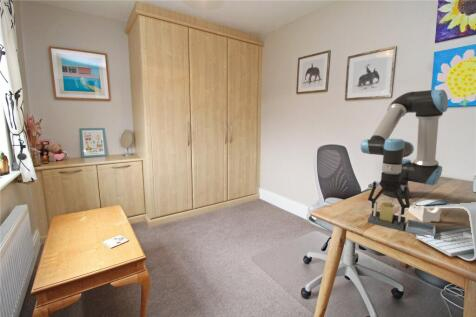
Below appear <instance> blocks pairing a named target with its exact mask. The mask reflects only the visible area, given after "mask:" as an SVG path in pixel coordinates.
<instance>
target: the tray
mask: <svg viewBox="0 0 476 317" xmlns="http://www.w3.org/2000/svg"><path fill="white" fill-rule="evenodd" d="M432 229H433V233H431V232H427V231H428V230H432ZM405 232H406V233H410V234H412V235H417V234H425V235H431V236H435V237H436V225H435V224H430V223H428V222H422V221H418V220H412V219H407V221H406V224H405Z"/></svg>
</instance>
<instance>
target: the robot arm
mask: <svg viewBox="0 0 476 317" xmlns="http://www.w3.org/2000/svg"><path fill="white" fill-rule="evenodd" d="M448 97H449V96H448V94H447V91H445V90H443V89H430V90H429V89H428V90H418V91H409V92H406V93H403V94H401V95H399V96H398V97H397V98H395V99H394V100H393V101H391V103H390V104H389V105H388V107H387V109H386V111H387V112H386V114H385V115H384V116H383V118H382V120H381V121H380V123H379V125H378V126H377V127H376V129H375V131H374V132H373V134H372V136H371V137H370V138H369V139H368V138H367V139H364V140H362V141H361V142H360V151H361V152H362V154H367V155H377V156H382V166H381V171H382V172H381V177H380V181H376V180H374V181H373V182H372V188H371V190H370V193H369V195H368V198H367V200H368V201H370V202H371V209H372V210H374V213H373V216H375V215H376V211H378V210H377V209H378V208H377V207H378V201H377V200H378V199H379V198H380V196H381V195H383V196H387V197H390V198H391V197H392V198H394V199H395V198H396V199H397V202H398V203H399V205H400V206H399V207H398V215H397V216H398V221H399V222H400V220H401V216H403V215H405V211H406V210H405V209H409V207H410V206H411V204H410V197H411V191H410V190H411V189H410V187H409V182H410V183H411V182H412V183H417V184H418V183H419V184H424V185H430V186H435V185H436V184H437V183H438V182H439V180H440V178H441V176H442V172H443V166H441V165H439V161H438V160H437V159H436V158H437V157H436V156H437V142H438V132H439V131H438V130H439V120H440V118H441V117H442V116H444V115H443V113H446V111H448V105H449V98H448ZM408 113H411V114H412V113H415V118H417V119H418V125H417V126H418V127H417V143H416V146H417V147H416V158H415V159H414V160H413V161H411V159H408V158H407V157H409V156H411V155H412V154H413V153H414V150H415V148H414V145H413V144H412V143H411V142H410V141H406V140H404V139H402V138H390V136H391V135H392V134H393V132H394V130H395V129H396V127H397V125H398V124H399V122H400V120H401V119H402V118H403V117H404V116H405V115H406V114H408ZM405 157H406V158H407V159H406V158H405ZM378 186H380V187H381V189H380V190H379V192H377V194H376V195H375V192H376V189H377V187H378ZM374 195H375V197H374V198H373V196H374ZM403 199H404V200H405V201H404V200H403Z"/></svg>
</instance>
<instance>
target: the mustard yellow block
mask: <svg viewBox="0 0 476 317" xmlns="http://www.w3.org/2000/svg"><path fill="white" fill-rule="evenodd" d="M395 207H396V205H395V204H393V203H392V202H382V203H381V204H380V211H379V212H380V219H379V221H383V222H387V223H391V224H393V223H394V222H393V217H394V215H395V209H396V208H395Z"/></svg>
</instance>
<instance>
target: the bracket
mask: <svg viewBox="0 0 476 317" xmlns="http://www.w3.org/2000/svg"><path fill="white" fill-rule="evenodd" d="M441 211H442V207H440V206H437V205H435V207H434V208H433V209H432V210H431V209H430V208H428V207H426V206H424V205H410V207H409V208H408V212H409V213H410V214H411V215H412V216H414V217H416V219H418V220H420V222H422V223H431V222H440V219H441V213H442V212H441Z"/></svg>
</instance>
